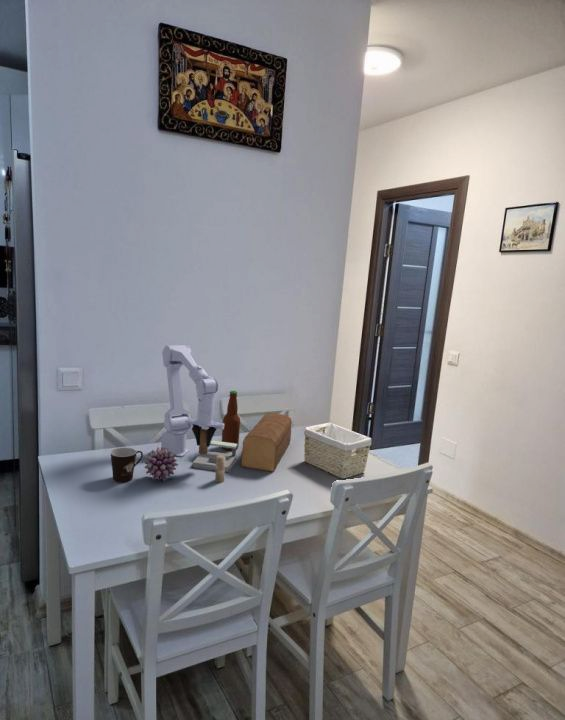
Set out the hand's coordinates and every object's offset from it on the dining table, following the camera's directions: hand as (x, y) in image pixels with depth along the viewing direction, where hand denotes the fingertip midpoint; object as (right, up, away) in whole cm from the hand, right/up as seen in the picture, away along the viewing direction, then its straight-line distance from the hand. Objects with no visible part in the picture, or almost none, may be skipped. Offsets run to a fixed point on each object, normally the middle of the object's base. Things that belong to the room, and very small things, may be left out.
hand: (203, 445), depth 180 cm
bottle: (+7, -6, +27) cm, 28 cm away
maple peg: (+7, -12, -6) cm, 15 cm away
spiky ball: (-14, -11, -9) cm, 20 cm away
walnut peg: (0, -3, +1) cm, 3 cm away
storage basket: (+51, -12, +16) cm, 54 cm away
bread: (+23, -8, +23) cm, 34 cm away
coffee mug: (-25, -10, -10) cm, 29 cm away
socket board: (+3, -9, +9) cm, 13 cm away
